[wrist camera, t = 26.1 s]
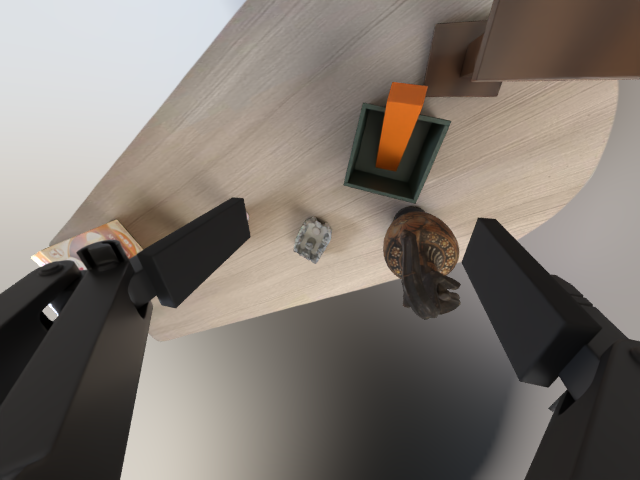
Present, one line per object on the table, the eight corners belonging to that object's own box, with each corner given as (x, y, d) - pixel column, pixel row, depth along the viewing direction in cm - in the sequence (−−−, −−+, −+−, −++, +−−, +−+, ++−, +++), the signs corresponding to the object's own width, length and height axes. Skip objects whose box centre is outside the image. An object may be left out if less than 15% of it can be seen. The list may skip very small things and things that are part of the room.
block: (399, 159, 43) (396, 171, 43) (378, 155, 44) (375, 167, 44) (428, 85, 26) (422, 106, 26) (392, 81, 27) (387, 101, 26)
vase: (397, 250, 54) (408, 376, 29) (372, 207, 50) (359, 307, 25) (450, 230, 49) (520, 363, 23) (426, 180, 45) (479, 274, 20)
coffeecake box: (150, 256, 78) (87, 295, 61) (138, 261, 81) (75, 300, 64) (117, 218, 72) (38, 250, 56) (106, 225, 75) (28, 257, 59)
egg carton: (309, 212, 55) (304, 219, 51) (337, 227, 55) (333, 235, 51) (294, 244, 60) (288, 252, 57) (319, 257, 60) (315, 266, 57)
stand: (421, 97, 39) (476, 80, 15) (434, 25, 34) (543, -155, 11) (494, 96, 36) (692, 76, 13) (519, 20, 32) (896, -225, 8)
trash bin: (367, 103, 41) (363, 102, 32) (436, 118, 40) (451, 121, 31) (351, 170, 47) (343, 185, 39) (409, 185, 46) (415, 203, 37)
